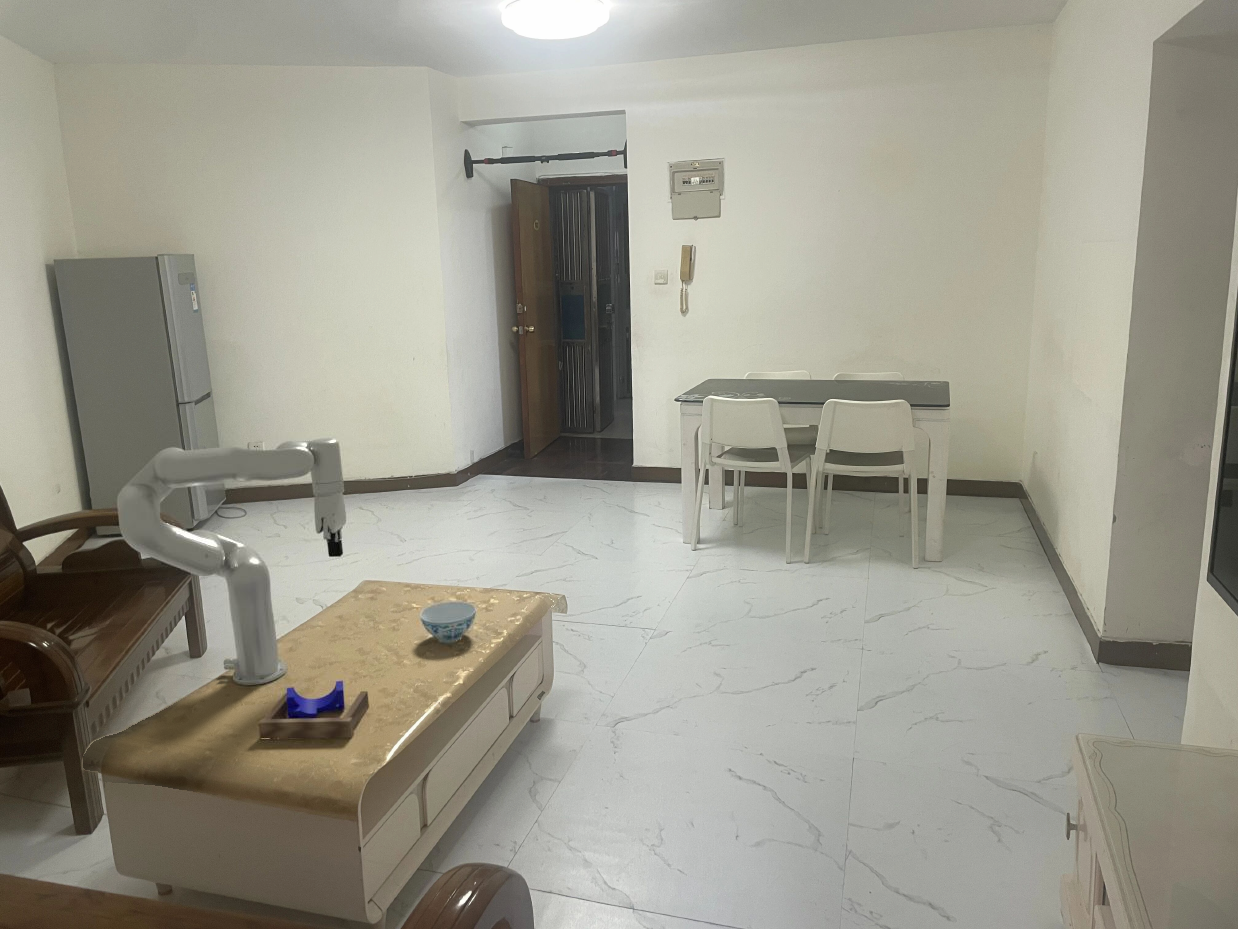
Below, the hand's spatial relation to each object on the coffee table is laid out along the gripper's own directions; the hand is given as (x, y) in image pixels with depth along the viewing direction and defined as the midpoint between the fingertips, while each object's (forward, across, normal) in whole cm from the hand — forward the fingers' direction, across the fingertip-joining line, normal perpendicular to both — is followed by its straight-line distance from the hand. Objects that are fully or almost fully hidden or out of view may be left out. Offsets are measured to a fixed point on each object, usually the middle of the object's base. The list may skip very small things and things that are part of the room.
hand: (335, 555), depth 220 cm
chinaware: (+27, -8, +26) cm, 39 cm away
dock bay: (+27, +36, +6) cm, 45 cm away
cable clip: (+27, +32, +4) cm, 42 cm away
